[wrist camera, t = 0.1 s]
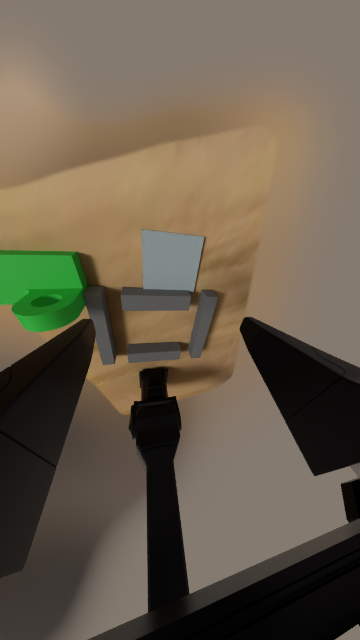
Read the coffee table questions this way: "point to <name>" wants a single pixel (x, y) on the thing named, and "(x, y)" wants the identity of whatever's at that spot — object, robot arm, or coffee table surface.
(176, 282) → the felt pad
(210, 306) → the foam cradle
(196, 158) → the coffee table surface
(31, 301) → the mechanical part
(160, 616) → the robot arm
